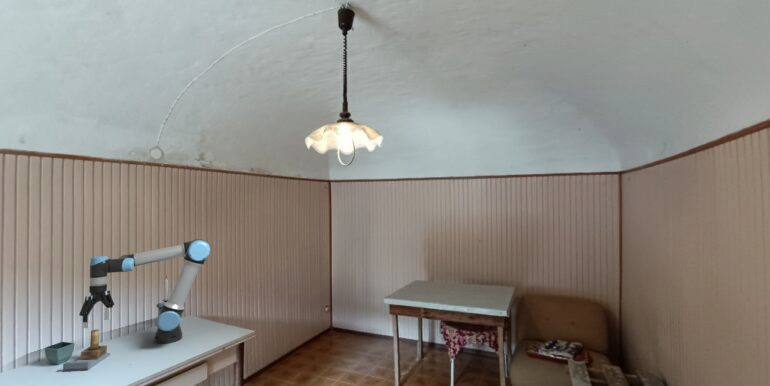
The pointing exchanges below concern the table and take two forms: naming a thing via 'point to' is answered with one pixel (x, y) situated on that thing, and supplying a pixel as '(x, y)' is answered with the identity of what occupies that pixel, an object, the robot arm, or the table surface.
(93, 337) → the dowel
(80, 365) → the board
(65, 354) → the flower pot
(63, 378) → the table surface
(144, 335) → the table surface
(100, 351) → the block
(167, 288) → the candlestick
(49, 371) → the table surface
